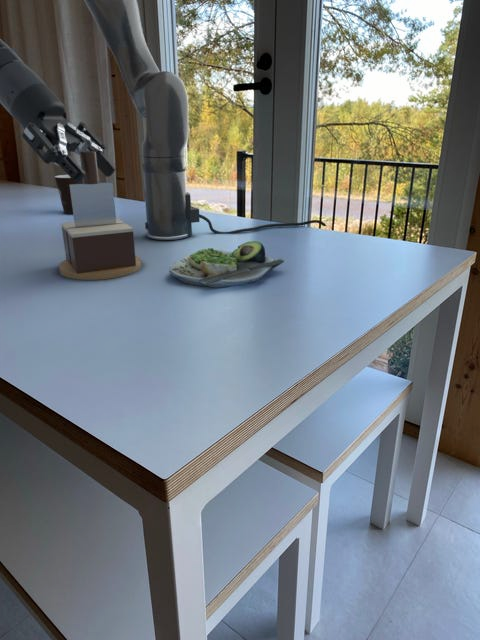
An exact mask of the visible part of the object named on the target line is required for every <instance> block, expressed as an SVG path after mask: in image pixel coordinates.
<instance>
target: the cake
mask: <svg viewBox="0 0 480 640" xmlns="http://www.w3.org/2000/svg"><path fill="white" fill-rule="evenodd" d="M60 225H61V230H62V231H61V232H62V239H63V245H64V252H65V259H64V260H63V261H61V262H60V263H59V264H58V270H59V274H60V275H62V276H63V277H66V278H68V279H73V280H82V281H99V280H110V279H116V278H121V277H124V276H125V277H126V276H128V275H131V274H134V273H135V272H138V271H139V270H140V269H141V266H142V263H141V262H142V261H141V258H139V257H138V256H137V255H136V249H135V248H136V247H135V238H134V228H133V227H132V226H131V225H128V224H127V223H125V222H124V221H123V220H121V219H119V218H118V217H116V224H106V225H95V226H84V227H75V222H74V221H71V222H70V221H69V222H61V223H60Z"/></svg>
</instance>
